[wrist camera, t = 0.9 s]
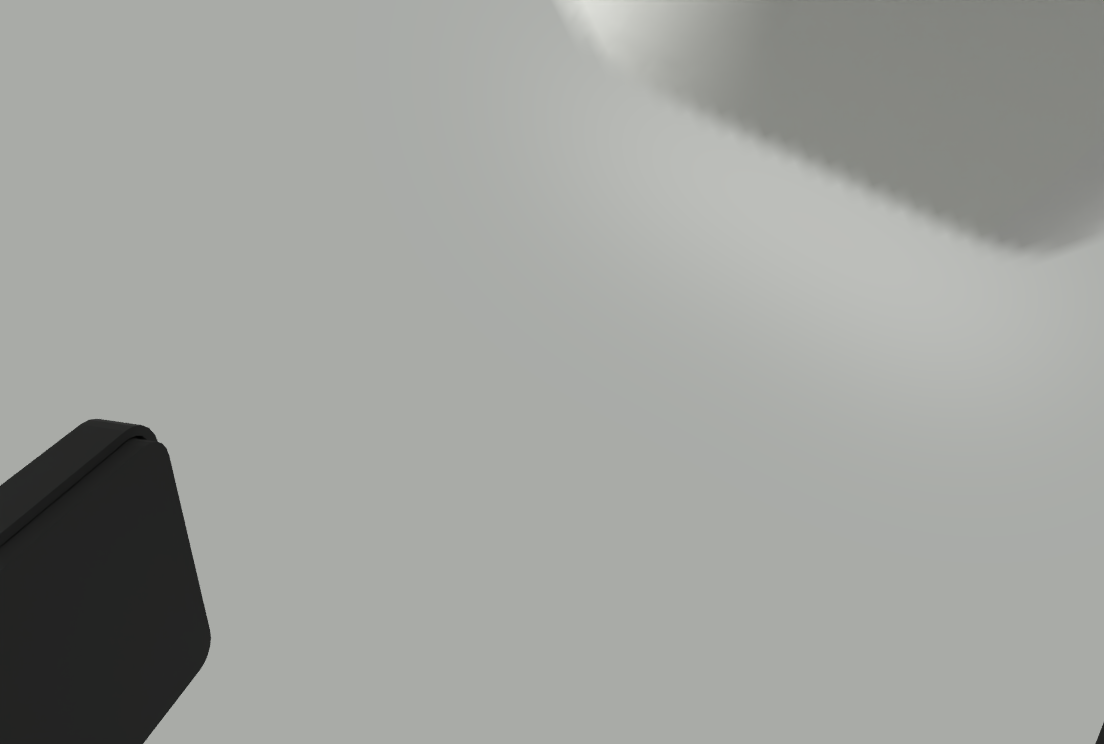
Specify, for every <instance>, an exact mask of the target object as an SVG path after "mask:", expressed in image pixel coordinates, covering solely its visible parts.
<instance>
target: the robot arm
mask: <svg viewBox="0 0 1104 744" xmlns="http://www.w3.org/2000/svg"><path fill="white" fill-rule="evenodd" d="M210 640H211V636H210V629H209V624H208V620H207V616H206V612H205V607H204V603H203V599H202V594H201V590H200V586H199V581H198V577H197V573H196V569H195V564H194V560H193V556H192V552H191V548H190V543H189V539H188V534H187V530H186V526H185V521H184V517H183V513H182V509H181V504H180V500H179V496H178V492H177V487H176V483H175V479H174V474H173V470H172V466H171V461H170V457H169V454H168V452H167V449H166V447H165V446H164V445H163V444H162V443H159V442H158V441H157V439H156V436H155V434H154V433H153V432H152V431H151V430H150V429H149V428H147V427H145V426H142V425H136V424H129V423H123V422H115V421H109V420H101V419H92V420H88V421H86V422H84V423H82V424H81V425H79V426H78V427H77V428H75V429H74V430H73V431H71V432H70V433H69V434H67V435H66V436H65V437H64V438H62V439H61V440H60V441H58V442H57V443H56V444H54V445H53V446H52V447H50V448H49V449H48V450H46V451H45V452H44V453H43V454H41V455H40V456H39V457H37V458H36V459H35V460H33V461H32V462H31V463H29V464H28V465H27V466H26V467H24V468H23V469H22V470H20V471H19V472H18V473H16V474H15V475H14V476H12V477H11V478H10V479H8V480H7V481H6V482H5V483H3V484H2V485H1V486H0V744H143V743H144V742H145V740H146V739H147V738H148V736H149V735H150V734H151V733H152V731H153V730H154V729H155V727H156V726H157V725H158V724H159V722H160V721H161V720H162V718H163V717H164V716H165V715H166V713H167V712H168V711H169V709H170V708H171V707H172V705H173V704H174V703H175V702H176V700H177V699H178V697H179V696H180V695H181V694H182V692H183V691H184V690H185V689H186V687H187V686H188V685H189V683H190V682H191V681H192V679H193V678H194V677H195V676H196V674H197V673H198V672H199V670H200V669H201V667H202V666H203V664H204V662H205V660H206V658H207V655H208V652H209V648H210ZM1096 744H1104V723H1103V726H1102V729H1101V731H1100V734H1099V736H1098V739H1097V741H1096Z"/></svg>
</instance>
